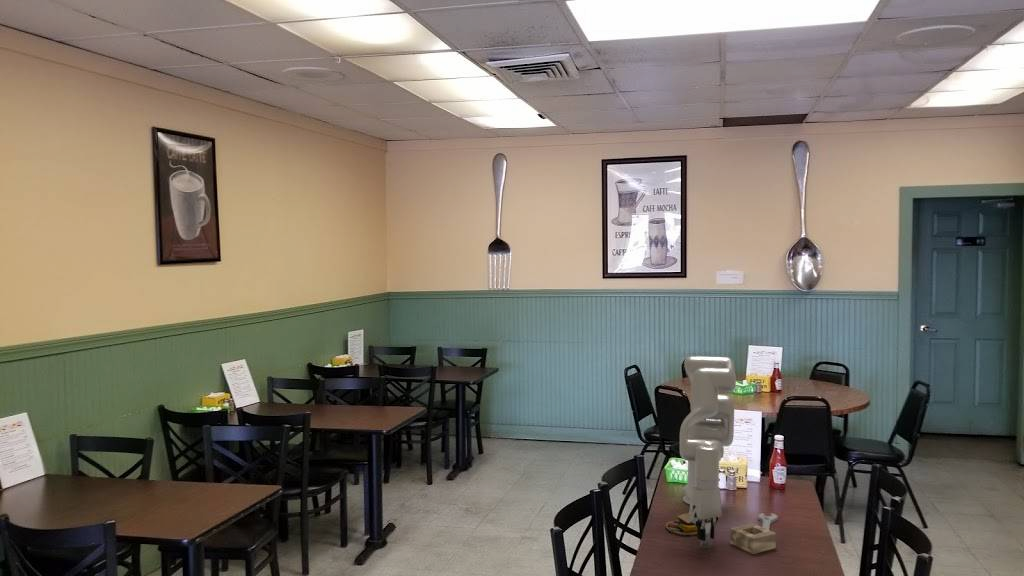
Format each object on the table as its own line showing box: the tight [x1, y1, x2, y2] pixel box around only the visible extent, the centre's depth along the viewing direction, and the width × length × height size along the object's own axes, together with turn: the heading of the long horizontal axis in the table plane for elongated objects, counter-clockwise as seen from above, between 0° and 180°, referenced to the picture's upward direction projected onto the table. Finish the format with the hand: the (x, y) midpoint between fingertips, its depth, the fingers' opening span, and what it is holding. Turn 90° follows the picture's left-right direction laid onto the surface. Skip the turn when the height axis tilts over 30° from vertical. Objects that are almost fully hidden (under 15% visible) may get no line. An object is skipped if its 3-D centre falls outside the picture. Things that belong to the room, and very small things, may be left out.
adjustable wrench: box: [757, 512, 778, 530], centre depth 265 cm, size 25×6×2 cm, turn 153°
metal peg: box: [700, 518, 712, 549], centre depth 248 cm, size 3×3×10 cm
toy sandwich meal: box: [665, 511, 701, 536], centre depth 263 cm, size 12×14×5 cm
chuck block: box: [729, 523, 777, 555], centre depth 248 cm, size 10×10×5 cm
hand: (705, 538), depth 248 cm, fingers closed on metal peg, 3 cm apart
